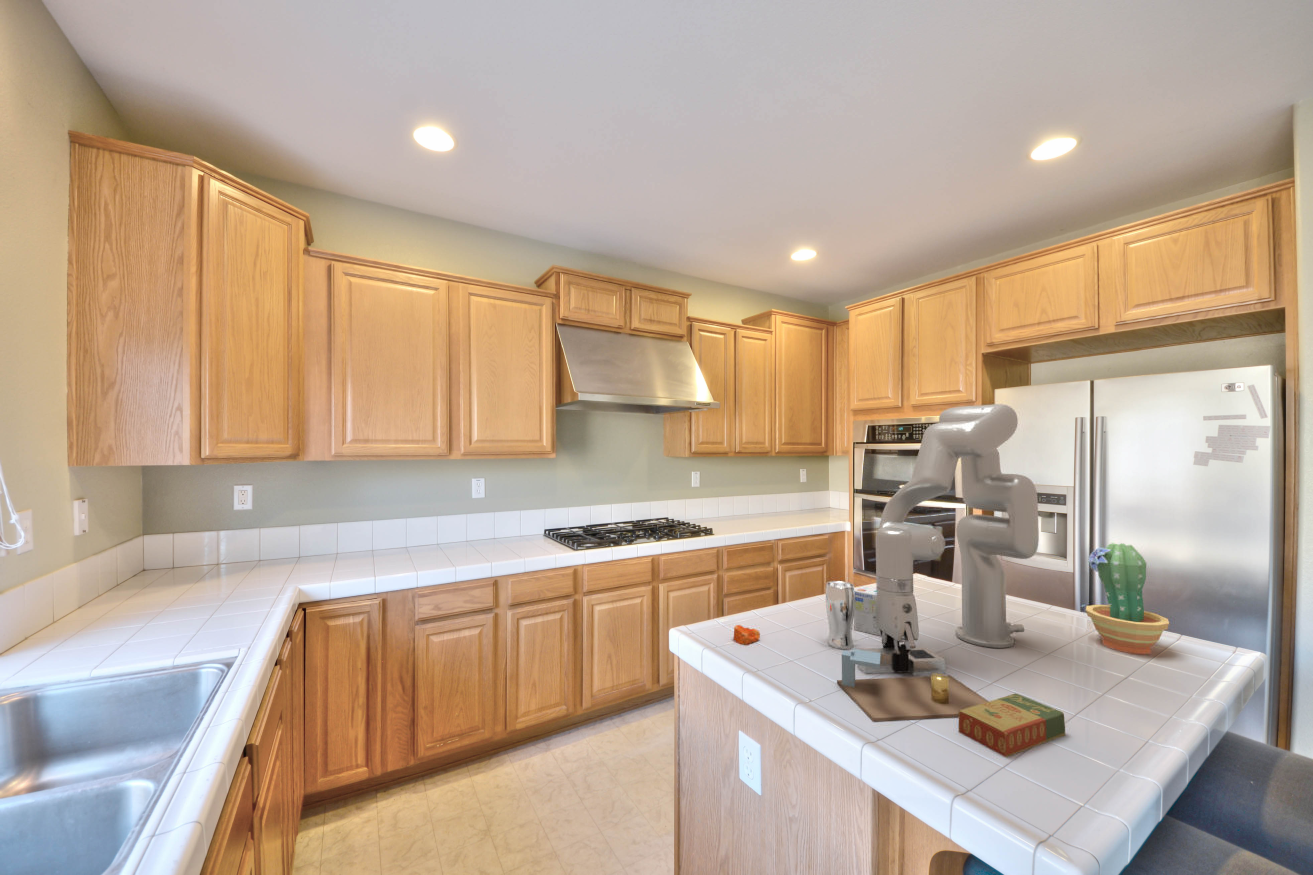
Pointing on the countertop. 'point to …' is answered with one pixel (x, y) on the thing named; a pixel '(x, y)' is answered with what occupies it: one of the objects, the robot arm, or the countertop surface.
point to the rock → (745, 635)
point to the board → (909, 698)
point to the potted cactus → (1124, 601)
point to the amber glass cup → (939, 688)
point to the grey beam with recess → (919, 662)
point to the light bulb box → (866, 610)
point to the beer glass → (840, 613)
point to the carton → (1011, 724)
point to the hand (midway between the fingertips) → (895, 666)
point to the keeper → (857, 663)
